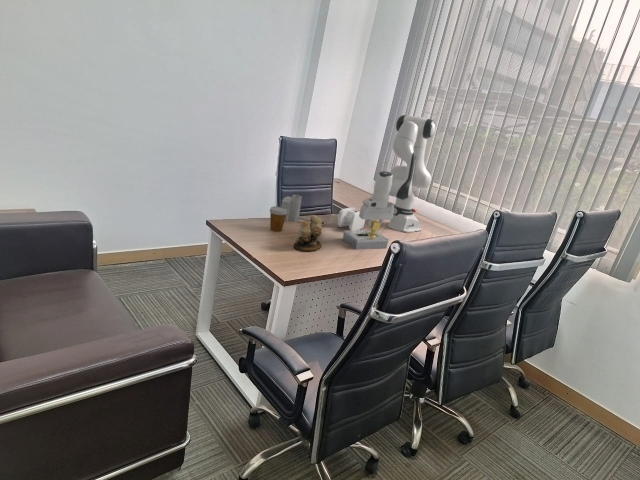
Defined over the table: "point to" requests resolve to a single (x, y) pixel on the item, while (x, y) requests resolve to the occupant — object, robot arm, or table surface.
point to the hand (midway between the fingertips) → (373, 226)
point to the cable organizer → (350, 219)
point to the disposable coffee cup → (277, 218)
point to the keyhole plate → (365, 239)
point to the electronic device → (293, 208)
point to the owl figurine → (309, 235)
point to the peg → (374, 228)
